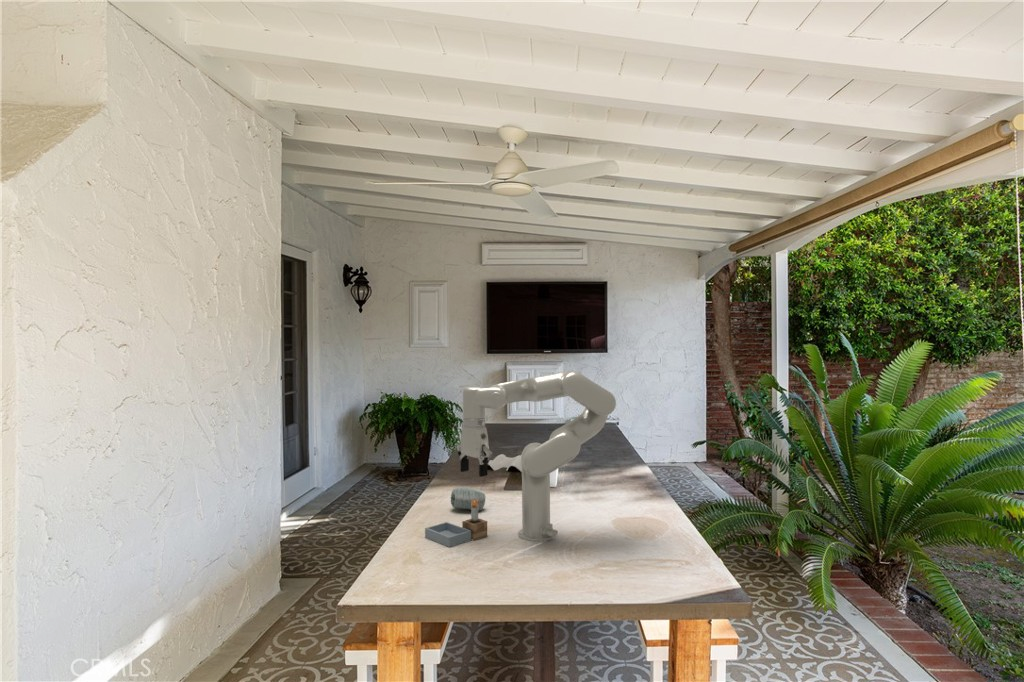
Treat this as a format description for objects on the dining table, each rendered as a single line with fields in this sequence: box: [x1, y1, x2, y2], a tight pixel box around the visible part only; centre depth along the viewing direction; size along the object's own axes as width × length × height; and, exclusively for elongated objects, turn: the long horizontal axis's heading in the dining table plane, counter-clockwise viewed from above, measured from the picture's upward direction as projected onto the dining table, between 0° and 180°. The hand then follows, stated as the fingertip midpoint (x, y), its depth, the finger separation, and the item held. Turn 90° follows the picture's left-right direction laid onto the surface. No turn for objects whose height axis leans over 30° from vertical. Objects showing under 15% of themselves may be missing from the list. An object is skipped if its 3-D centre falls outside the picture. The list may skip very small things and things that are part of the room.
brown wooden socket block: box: [461, 517, 488, 541], centre depth 191 cm, size 6×6×5 cm
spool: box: [450, 486, 486, 512], centre depth 220 cm, size 14×10×10 cm
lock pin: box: [470, 500, 479, 523], centre depth 191 cm, size 2×2×10 cm
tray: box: [424, 521, 472, 548], centre depth 189 cm, size 13×9×3 cm
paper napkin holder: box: [482, 453, 522, 473], centre depth 285 cm, size 25×19×10 cm
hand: (473, 473), depth 191 cm, fingers open, 9 cm apart
